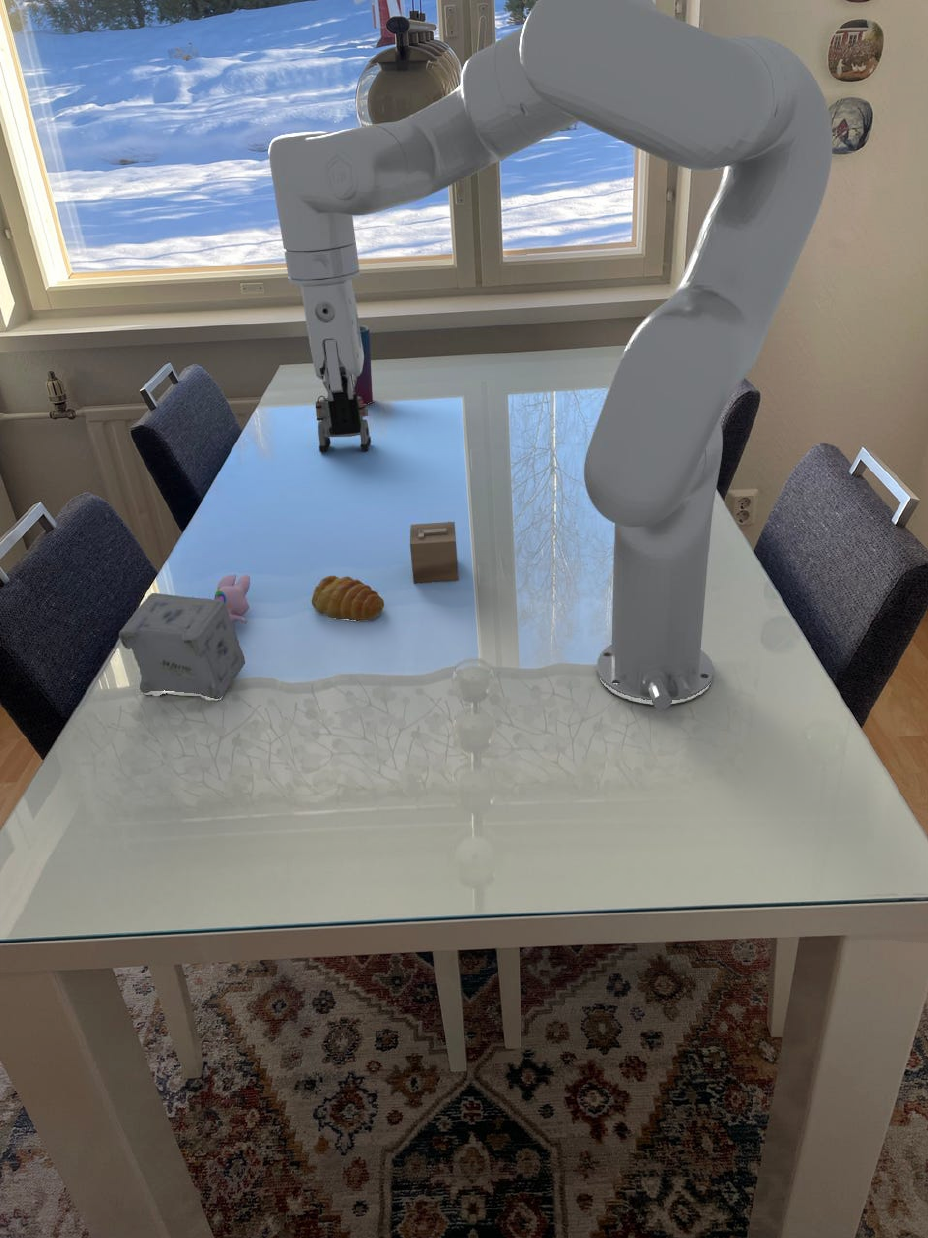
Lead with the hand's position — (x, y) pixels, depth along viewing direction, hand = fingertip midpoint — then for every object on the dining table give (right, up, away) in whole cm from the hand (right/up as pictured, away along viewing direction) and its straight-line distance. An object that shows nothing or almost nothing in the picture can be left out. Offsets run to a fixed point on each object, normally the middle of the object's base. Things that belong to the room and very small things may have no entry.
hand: (347, 431), depth 108 cm
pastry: (-1, -20, +13) cm, 24 cm away
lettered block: (+10, -15, +20) cm, 27 cm away
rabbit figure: (-16, -22, +12) cm, 30 cm away
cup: (-8, +23, +87) cm, 91 cm away
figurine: (-8, +10, +66) cm, 67 cm away
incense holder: (-18, -30, -1) cm, 34 cm away
